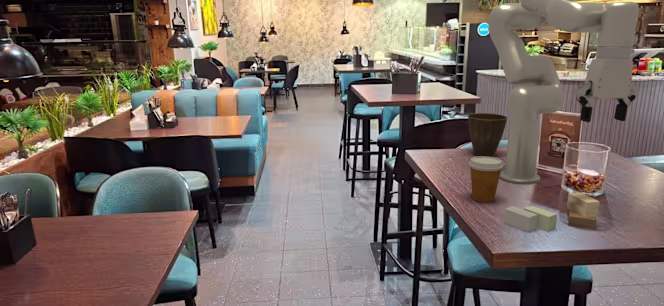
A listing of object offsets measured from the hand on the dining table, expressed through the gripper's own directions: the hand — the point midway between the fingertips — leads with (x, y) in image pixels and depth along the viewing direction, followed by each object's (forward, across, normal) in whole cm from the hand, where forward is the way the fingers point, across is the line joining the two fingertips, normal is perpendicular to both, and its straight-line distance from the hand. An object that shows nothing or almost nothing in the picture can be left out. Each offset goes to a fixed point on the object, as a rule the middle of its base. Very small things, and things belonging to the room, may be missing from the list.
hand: (602, 120), depth 116 cm
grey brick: (+25, +24, +7) cm, 36 cm away
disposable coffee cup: (+26, +24, -13) cm, 38 cm away
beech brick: (+23, +7, +6) cm, 24 cm away
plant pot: (+27, +1, -61) cm, 67 cm away
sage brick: (+25, +19, +7) cm, 32 cm away
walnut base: (+26, +7, +7) cm, 27 cm away
